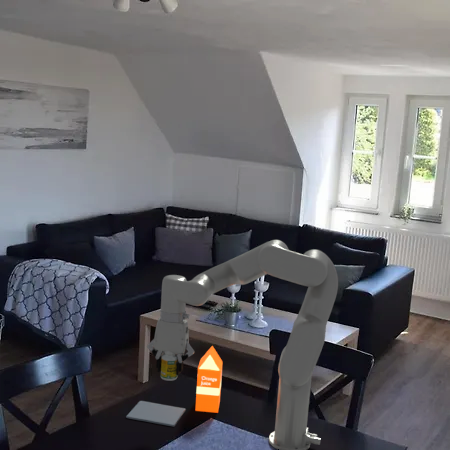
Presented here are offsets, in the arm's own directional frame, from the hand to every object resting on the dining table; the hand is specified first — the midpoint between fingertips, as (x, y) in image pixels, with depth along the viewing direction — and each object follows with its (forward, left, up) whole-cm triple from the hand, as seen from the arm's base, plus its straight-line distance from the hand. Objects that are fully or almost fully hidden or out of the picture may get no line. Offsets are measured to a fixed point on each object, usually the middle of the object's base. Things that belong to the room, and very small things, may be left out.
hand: (169, 371), depth 197 cm
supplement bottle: (0, 0, -2) cm, 2 cm away
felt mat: (+5, -6, -18) cm, 19 cm away
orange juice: (-9, -18, -18) cm, 27 cm away
